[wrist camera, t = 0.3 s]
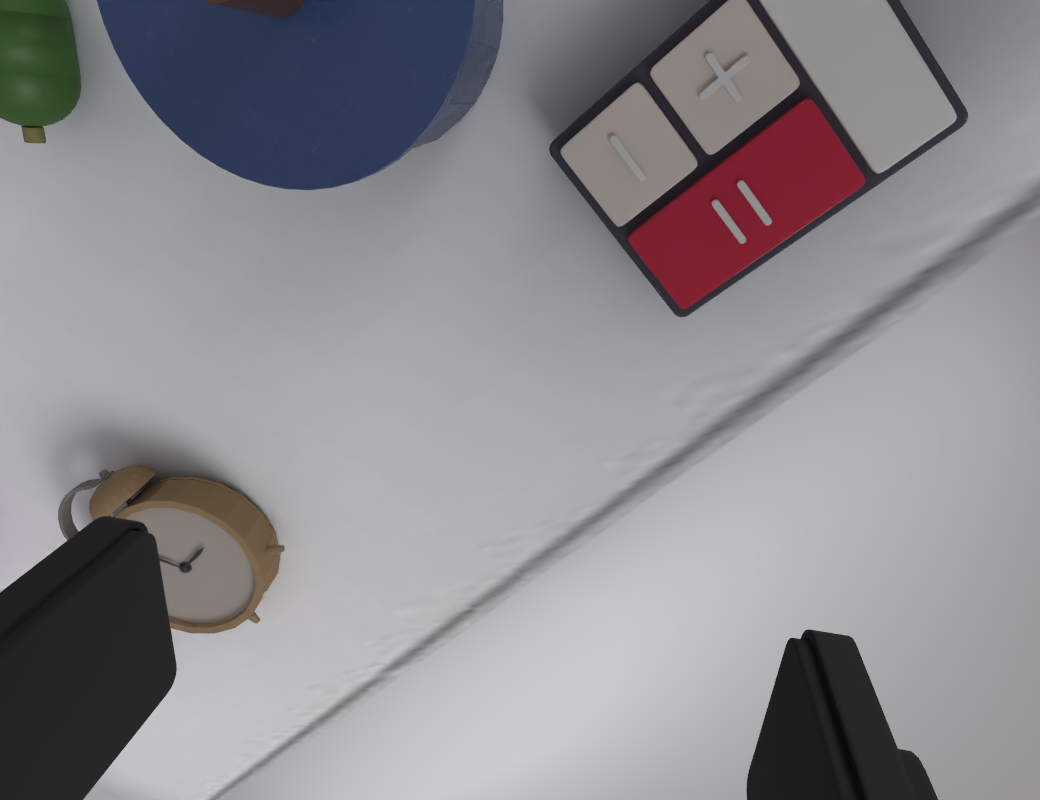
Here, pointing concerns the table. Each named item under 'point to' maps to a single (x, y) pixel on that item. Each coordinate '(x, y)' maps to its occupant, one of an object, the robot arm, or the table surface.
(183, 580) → the alarm clock
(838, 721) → the robot arm
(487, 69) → the pot
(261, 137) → the pot lid
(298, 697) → the table surface
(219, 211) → the table surface
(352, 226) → the table surface
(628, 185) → the calculator
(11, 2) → the squash
